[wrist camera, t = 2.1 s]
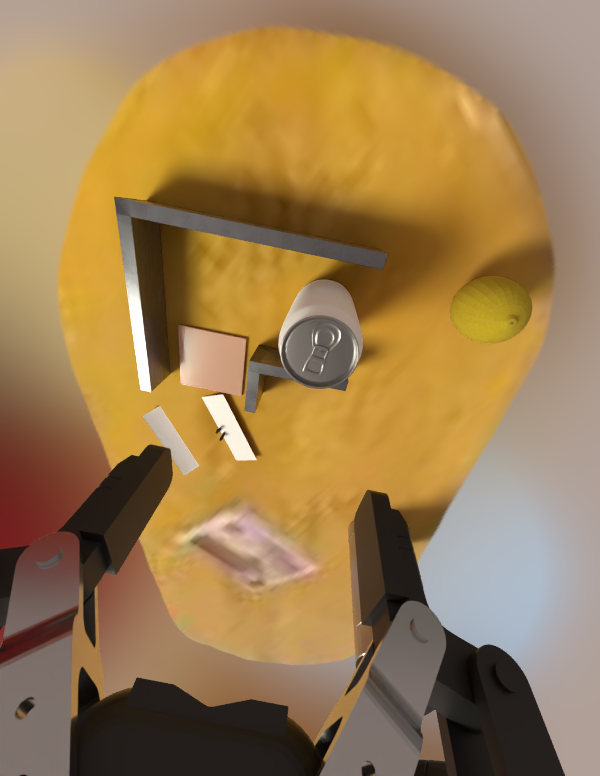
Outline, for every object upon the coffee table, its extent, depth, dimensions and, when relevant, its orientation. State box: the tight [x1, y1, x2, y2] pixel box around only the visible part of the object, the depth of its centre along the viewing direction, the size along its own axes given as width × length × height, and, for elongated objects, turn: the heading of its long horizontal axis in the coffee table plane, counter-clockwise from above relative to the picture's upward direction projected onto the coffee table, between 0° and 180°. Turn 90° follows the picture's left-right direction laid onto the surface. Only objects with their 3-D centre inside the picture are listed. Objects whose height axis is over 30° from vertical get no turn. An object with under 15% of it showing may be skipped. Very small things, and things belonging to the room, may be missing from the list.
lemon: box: [450, 276, 532, 343], centre depth 25 cm, size 6×6×8 cm
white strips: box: [143, 394, 257, 476], centre depth 41 cm, size 12×12×2 cm
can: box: [278, 279, 363, 389], centre depth 25 cm, size 6×6×12 cm
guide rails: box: [114, 197, 388, 413], centre depth 30 cm, size 23×19×4 cm
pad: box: [178, 324, 247, 396], centre depth 35 cm, size 8×8×1 cm
